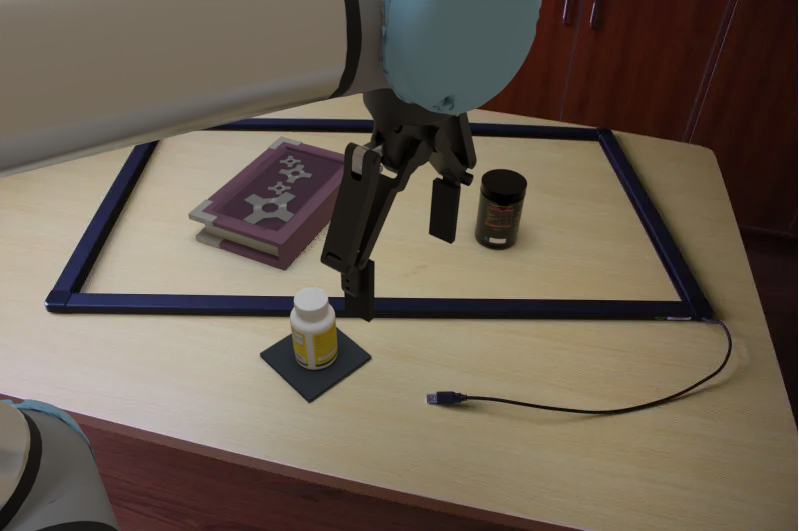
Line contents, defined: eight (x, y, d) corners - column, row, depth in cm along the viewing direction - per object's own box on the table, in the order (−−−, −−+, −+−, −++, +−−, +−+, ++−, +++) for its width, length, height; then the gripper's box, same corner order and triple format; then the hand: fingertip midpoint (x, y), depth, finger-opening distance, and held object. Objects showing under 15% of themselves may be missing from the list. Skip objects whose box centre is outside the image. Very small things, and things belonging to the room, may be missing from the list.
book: (283, 160, 116) (280, 136, 113) (363, 183, 111) (363, 158, 108) (194, 240, 98) (188, 213, 95) (284, 271, 93) (281, 244, 90)
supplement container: (513, 223, 103) (523, 168, 97) (520, 250, 98) (531, 194, 91) (471, 223, 103) (478, 168, 96) (476, 250, 98) (484, 194, 91)
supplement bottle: (341, 341, 83) (339, 285, 76) (332, 373, 79) (328, 318, 72) (300, 336, 83) (294, 280, 77) (289, 368, 79) (281, 312, 73)
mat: (309, 403, 76) (309, 400, 76) (259, 356, 81) (259, 353, 81) (371, 358, 81) (371, 355, 81) (321, 317, 87) (321, 314, 86)
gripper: (347, 140, 38) (353, 373, 52) (535, 20, 53) (501, 224, 67) (254, 102, 41) (283, 332, 55) (458, -1, 56) (440, 198, 70)
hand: (403, 273), depth 61 cm, fingers open, 13 cm apart
